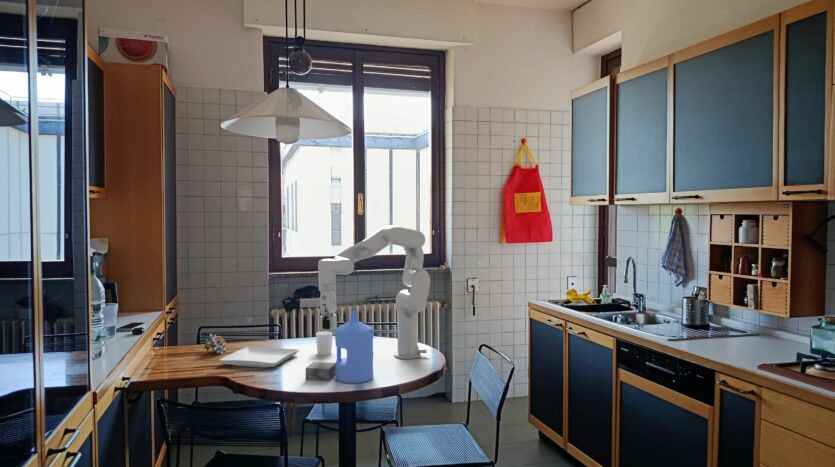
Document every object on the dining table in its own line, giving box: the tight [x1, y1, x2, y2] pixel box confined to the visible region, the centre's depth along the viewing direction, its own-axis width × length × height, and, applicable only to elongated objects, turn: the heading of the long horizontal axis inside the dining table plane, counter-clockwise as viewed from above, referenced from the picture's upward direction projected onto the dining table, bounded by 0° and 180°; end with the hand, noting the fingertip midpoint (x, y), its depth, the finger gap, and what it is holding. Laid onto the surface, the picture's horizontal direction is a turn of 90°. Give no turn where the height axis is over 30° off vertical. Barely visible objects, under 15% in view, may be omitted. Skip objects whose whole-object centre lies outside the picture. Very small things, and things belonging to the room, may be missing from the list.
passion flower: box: [202, 333, 227, 355], centre depth 286 cm, size 11×11×12 cm
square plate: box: [219, 346, 300, 369], centre depth 272 cm, size 27×27×4 cm
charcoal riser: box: [305, 361, 336, 382], centre depth 245 cm, size 10×10×5 cm
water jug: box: [334, 310, 374, 384], centre depth 243 cm, size 16×16×28 cm
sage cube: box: [319, 313, 338, 332], centre depth 261 cm, size 6×6×6 cm
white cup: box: [315, 331, 333, 356], centre depth 286 cm, size 8×8×10 cm
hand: (328, 327), depth 261 cm, fingers closed on sage cube, 6 cm apart
